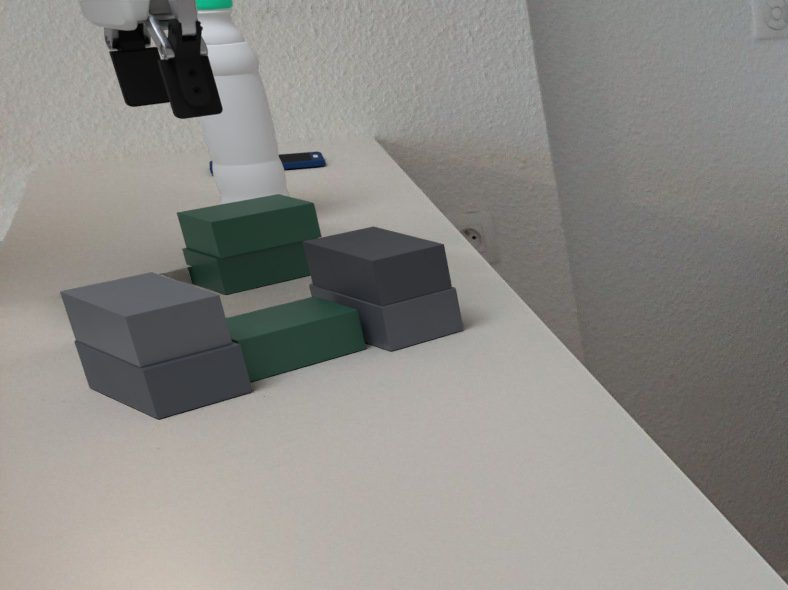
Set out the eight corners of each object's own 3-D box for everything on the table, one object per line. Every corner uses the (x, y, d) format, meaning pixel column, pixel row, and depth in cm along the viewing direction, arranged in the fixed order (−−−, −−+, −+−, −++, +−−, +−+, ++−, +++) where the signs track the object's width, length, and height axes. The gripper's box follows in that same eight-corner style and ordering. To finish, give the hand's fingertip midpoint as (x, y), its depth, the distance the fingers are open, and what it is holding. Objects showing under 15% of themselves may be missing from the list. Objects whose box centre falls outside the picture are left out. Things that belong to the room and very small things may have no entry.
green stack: (226, 295, 120) (207, 222, 117) (191, 283, 124) (171, 212, 121) (329, 271, 128) (314, 202, 124) (293, 260, 131) (277, 193, 128)
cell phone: (326, 165, 173) (325, 160, 173) (210, 175, 168) (209, 169, 167) (322, 156, 179) (320, 150, 179) (210, 165, 173) (208, 159, 173)
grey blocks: (158, 419, 93) (126, 318, 89) (89, 387, 98) (57, 291, 95) (464, 330, 111) (448, 243, 107) (390, 307, 117) (373, 224, 113)
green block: (248, 382, 99) (237, 340, 98) (206, 366, 103) (194, 325, 101) (366, 349, 107) (358, 309, 105) (323, 334, 110) (314, 295, 108)
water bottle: (219, 235, 140) (153, -13, 129) (237, 220, 146) (176, -18, 135) (288, 232, 141) (229, -14, 130) (303, 217, 148) (248, -18, 136)
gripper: (-4, -146, 90) (79, 107, 98) (77, -155, 80) (163, 129, 88) (112, -147, 95) (183, 94, 103) (203, -156, 85) (274, 113, 93)
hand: (174, 110), depth 95 cm, fingers open, 9 cm apart
